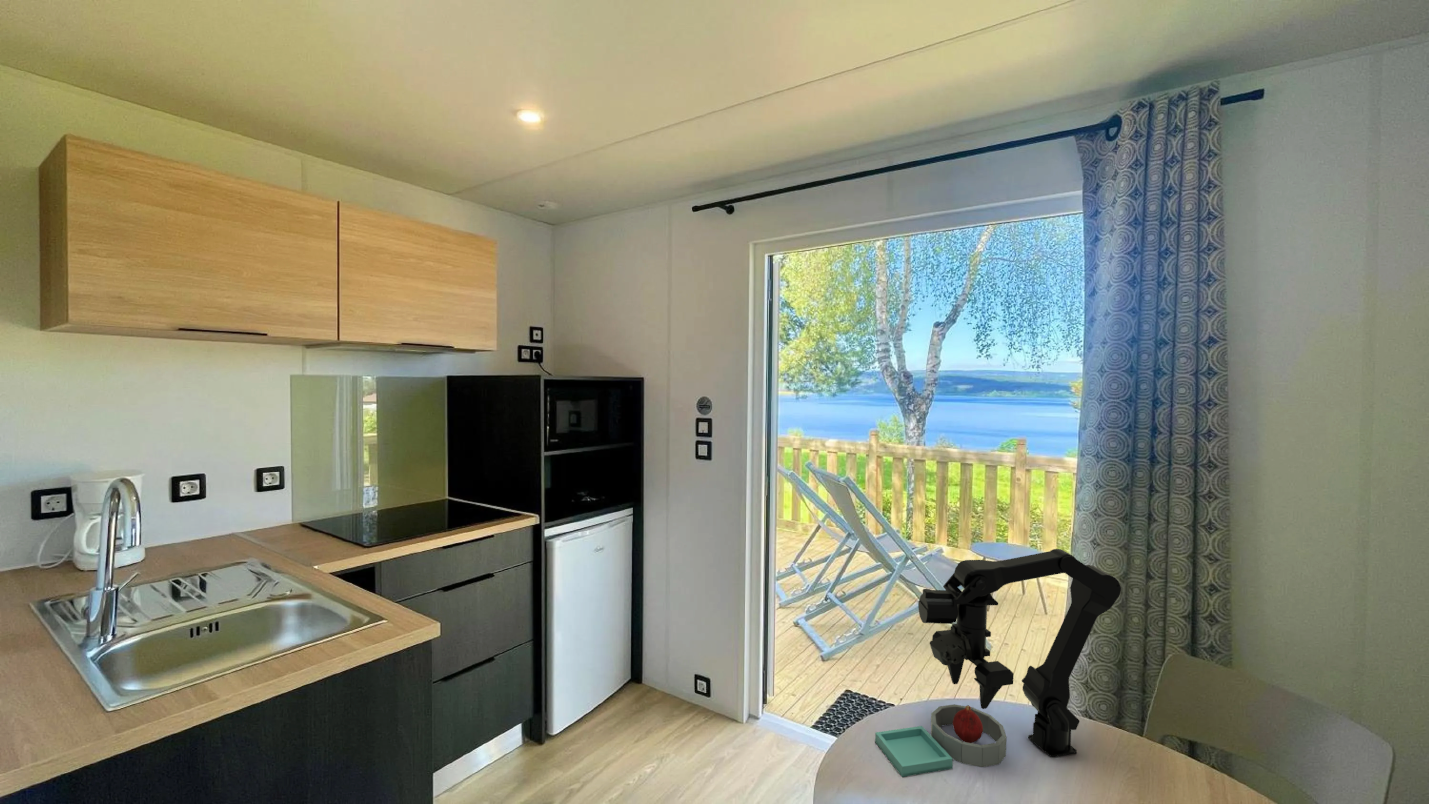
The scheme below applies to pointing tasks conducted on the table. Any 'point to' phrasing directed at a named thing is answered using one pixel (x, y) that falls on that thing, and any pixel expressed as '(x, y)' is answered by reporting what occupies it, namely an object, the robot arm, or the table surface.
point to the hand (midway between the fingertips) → (968, 695)
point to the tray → (913, 751)
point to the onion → (967, 725)
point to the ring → (969, 751)
